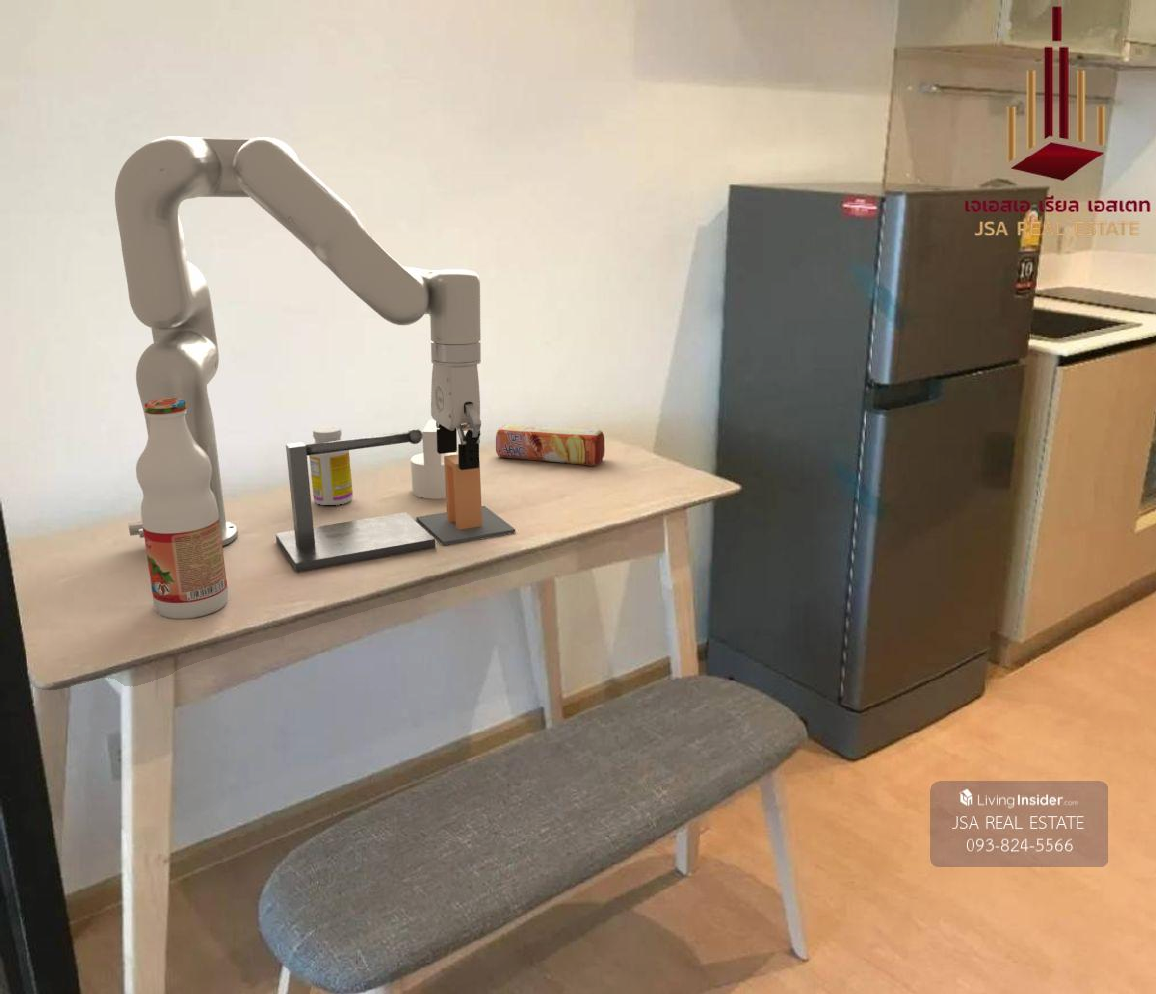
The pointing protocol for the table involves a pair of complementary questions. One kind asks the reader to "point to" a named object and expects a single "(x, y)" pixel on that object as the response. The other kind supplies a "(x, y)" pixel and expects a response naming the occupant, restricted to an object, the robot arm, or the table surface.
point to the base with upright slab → (429, 466)
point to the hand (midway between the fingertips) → (457, 460)
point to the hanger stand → (347, 538)
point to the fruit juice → (180, 517)
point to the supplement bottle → (330, 470)
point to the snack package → (551, 444)
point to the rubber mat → (451, 535)
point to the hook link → (462, 494)
